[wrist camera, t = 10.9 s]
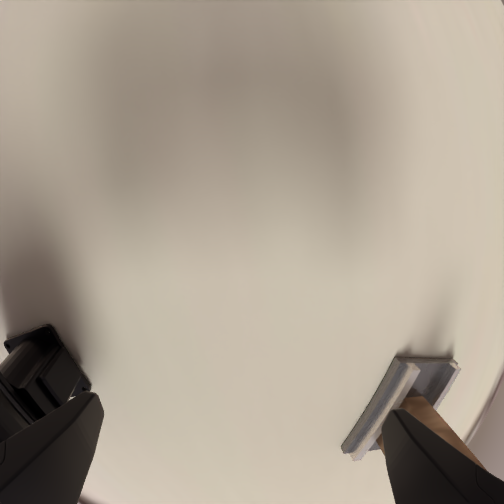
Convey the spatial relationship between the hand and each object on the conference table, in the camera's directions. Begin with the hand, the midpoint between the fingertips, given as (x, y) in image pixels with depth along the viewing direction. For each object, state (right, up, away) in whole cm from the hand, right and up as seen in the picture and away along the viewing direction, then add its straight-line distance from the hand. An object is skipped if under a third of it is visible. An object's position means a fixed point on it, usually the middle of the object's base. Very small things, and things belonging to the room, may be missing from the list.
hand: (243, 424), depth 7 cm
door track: (+15, -12, +17) cm, 26 cm away
